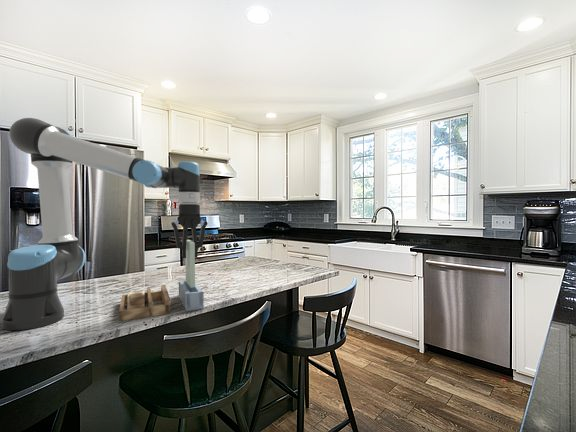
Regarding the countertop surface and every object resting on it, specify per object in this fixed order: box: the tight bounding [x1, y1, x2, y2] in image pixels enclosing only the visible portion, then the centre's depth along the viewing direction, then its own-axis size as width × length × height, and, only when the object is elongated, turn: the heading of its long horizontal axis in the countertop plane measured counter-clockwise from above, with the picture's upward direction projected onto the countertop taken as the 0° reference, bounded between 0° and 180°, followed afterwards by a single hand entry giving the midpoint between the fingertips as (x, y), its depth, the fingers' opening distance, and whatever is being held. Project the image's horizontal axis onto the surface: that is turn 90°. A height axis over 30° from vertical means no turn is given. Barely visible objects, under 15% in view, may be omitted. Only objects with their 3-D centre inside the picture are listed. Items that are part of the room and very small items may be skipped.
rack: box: [118, 285, 171, 322], centre depth 108 cm, size 15×20×5 cm
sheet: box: [185, 239, 196, 288], centre depth 115 cm, size 2×12×16 cm, turn 26°
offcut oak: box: [126, 301, 146, 309], centre depth 102 cm, size 5×6×4 cm
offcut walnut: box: [129, 293, 146, 306], centre depth 102 cm, size 4×5×2 cm
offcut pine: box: [126, 290, 146, 306], centre depth 111 cm, size 5×6×4 cm
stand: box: [178, 280, 205, 312], centre depth 115 cm, size 6×20×6 cm, turn 26°
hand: (190, 266), depth 115 cm, fingers closed on sheet, 2 cm apart
